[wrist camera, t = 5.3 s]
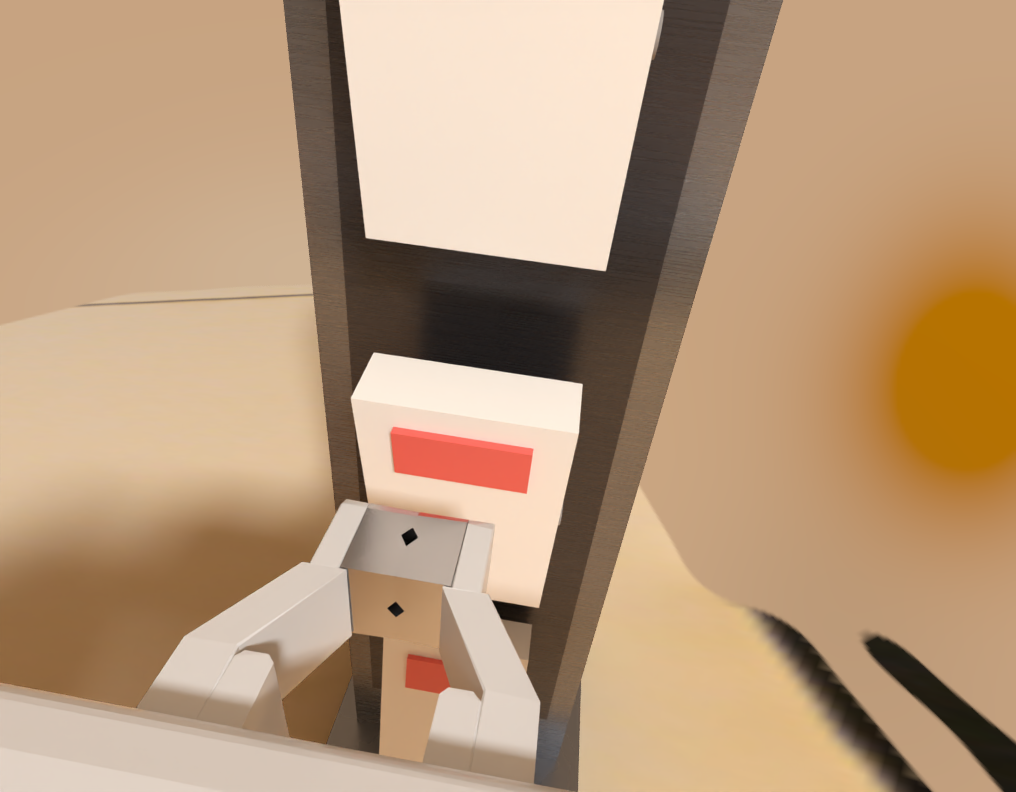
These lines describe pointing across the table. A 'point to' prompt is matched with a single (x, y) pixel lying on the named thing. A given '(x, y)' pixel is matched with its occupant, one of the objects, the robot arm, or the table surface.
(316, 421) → the table surface
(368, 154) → the top rocker
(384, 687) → the bottom rocker
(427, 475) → the middle rocker
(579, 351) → the power strip
